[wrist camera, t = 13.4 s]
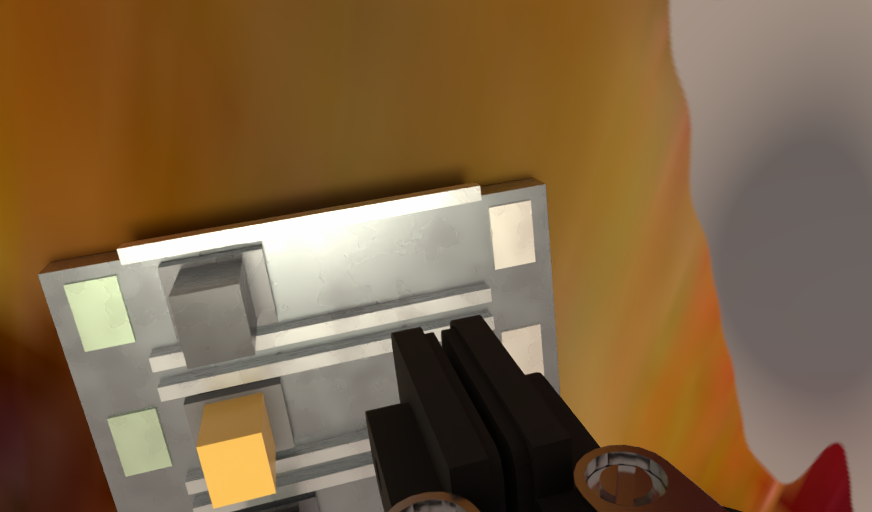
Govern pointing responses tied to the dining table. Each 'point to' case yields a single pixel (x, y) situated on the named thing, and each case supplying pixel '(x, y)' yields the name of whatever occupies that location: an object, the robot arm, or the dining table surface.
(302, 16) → the dining table surface
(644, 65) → the dining table surface
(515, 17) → the dining table surface
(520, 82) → the dining table surface
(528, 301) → the breaker board
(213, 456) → the block
